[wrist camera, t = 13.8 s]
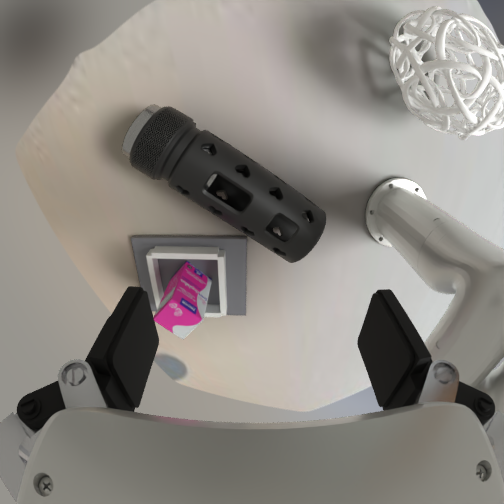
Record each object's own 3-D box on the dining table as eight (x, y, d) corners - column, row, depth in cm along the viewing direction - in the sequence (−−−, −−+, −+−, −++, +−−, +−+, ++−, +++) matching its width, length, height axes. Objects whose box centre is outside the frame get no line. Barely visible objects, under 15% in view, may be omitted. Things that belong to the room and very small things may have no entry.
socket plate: (246, 236, 46) (246, 245, 43) (246, 312, 53) (245, 324, 50) (133, 235, 46) (125, 244, 42) (147, 307, 53) (142, 318, 50)
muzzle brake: (282, 243, 47) (289, 277, 37) (138, 152, 39) (108, 165, 30) (318, 199, 43) (335, 223, 34) (168, 100, 36) (143, 97, 26)
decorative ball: (457, 44, 27) (529, 36, 10) (458, 140, 36) (534, 165, 19) (364, 10, 27) (424, -33, 10) (367, 120, 37) (440, 131, 20)
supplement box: (213, 278, 48) (204, 321, 38) (194, 297, 50) (182, 341, 40) (187, 258, 47) (171, 299, 36) (169, 279, 49) (151, 321, 38)
